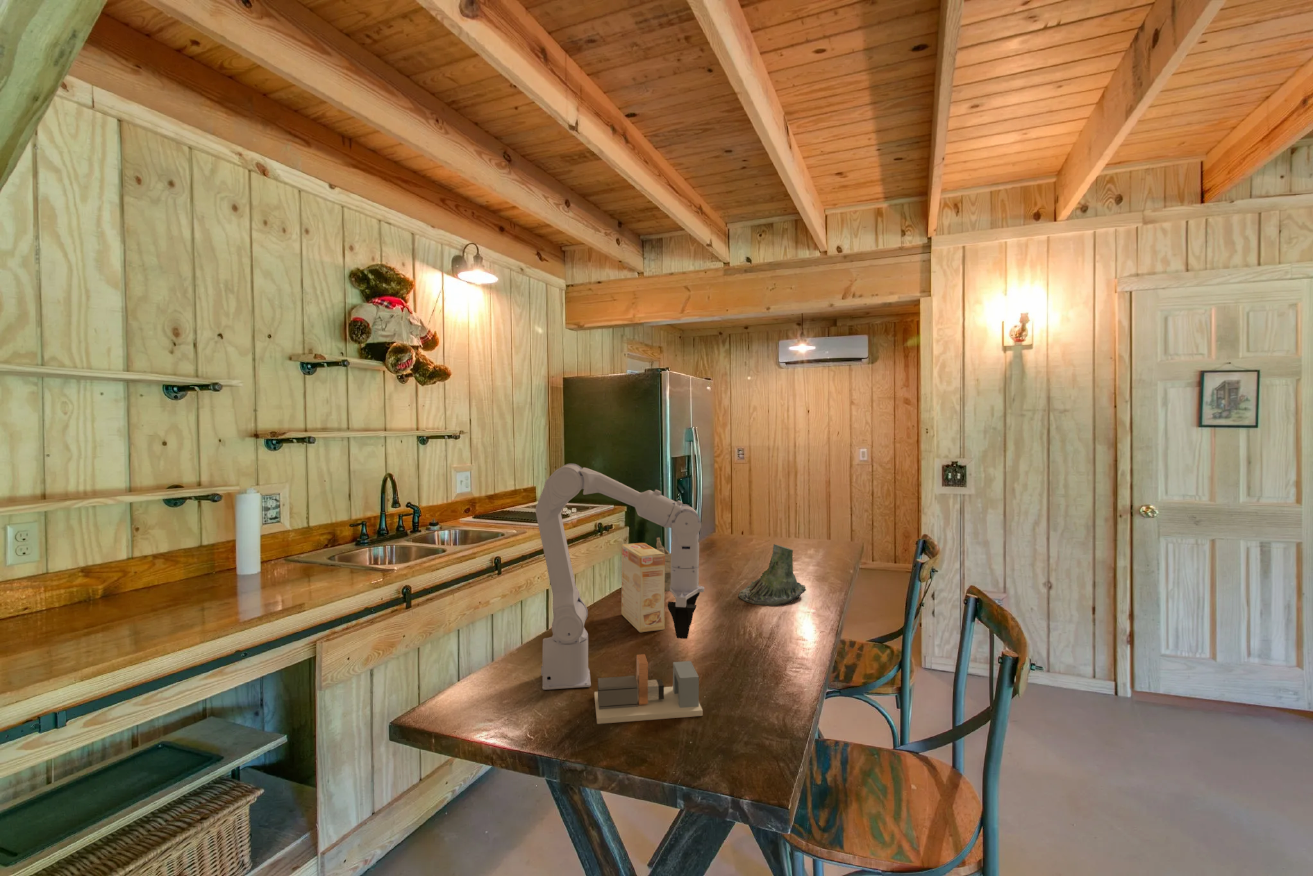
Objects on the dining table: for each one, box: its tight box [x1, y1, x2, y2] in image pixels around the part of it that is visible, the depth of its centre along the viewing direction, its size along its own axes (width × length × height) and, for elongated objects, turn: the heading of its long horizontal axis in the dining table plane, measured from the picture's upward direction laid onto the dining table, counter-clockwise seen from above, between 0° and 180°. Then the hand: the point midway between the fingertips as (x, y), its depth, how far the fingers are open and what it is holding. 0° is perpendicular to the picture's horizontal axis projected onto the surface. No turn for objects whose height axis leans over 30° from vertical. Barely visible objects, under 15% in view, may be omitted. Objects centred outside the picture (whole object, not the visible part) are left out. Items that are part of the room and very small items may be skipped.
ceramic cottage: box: [655, 537, 671, 592], centre depth 190 cm, size 16×16×15 cm
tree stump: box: [738, 543, 807, 607], centre depth 177 cm, size 18×20×18 cm
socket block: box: [672, 660, 700, 708], centre depth 110 cm, size 4×7×6 cm, turn 9°
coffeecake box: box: [621, 542, 666, 633], centre depth 154 cm, size 15×7×20 cm, turn 22°
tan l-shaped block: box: [607, 653, 665, 705], centre depth 108 cm, size 12×4×8 cm, turn 99°
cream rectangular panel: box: [593, 675, 704, 725], centre depth 109 cm, size 19×10×5 cm, turn 99°
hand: (684, 631), depth 120 cm, fingers open, 7 cm apart
